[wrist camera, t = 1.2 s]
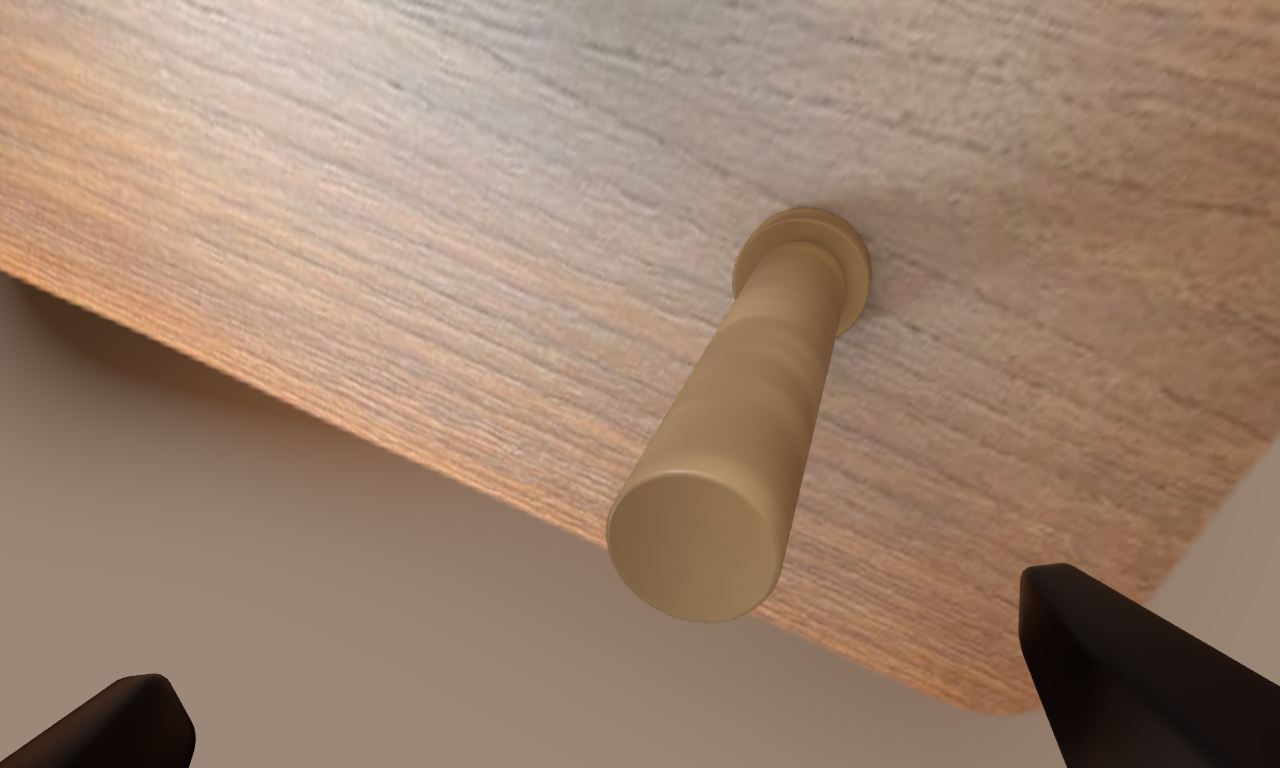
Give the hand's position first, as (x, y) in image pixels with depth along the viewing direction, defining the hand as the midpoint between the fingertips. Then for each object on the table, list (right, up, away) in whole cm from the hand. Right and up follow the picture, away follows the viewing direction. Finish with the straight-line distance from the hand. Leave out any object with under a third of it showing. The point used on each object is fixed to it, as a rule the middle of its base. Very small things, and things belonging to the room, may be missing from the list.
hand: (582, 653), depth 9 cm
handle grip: (+5, +6, +12) cm, 14 cm away
